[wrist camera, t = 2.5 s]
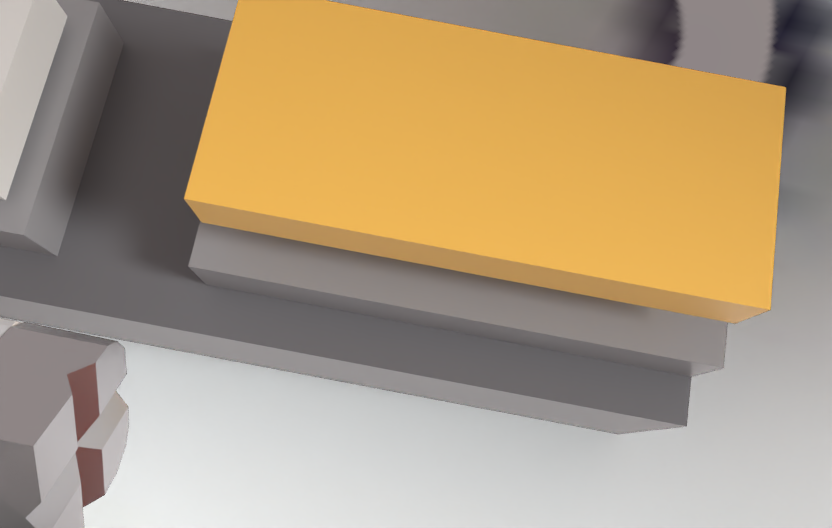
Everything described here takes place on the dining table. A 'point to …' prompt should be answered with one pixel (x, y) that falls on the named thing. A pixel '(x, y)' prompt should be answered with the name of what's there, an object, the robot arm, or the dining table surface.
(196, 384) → the dining table surface
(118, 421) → the robot arm
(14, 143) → the white flat block
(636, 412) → the power strip
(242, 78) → the amber switch
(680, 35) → the dining table surface
